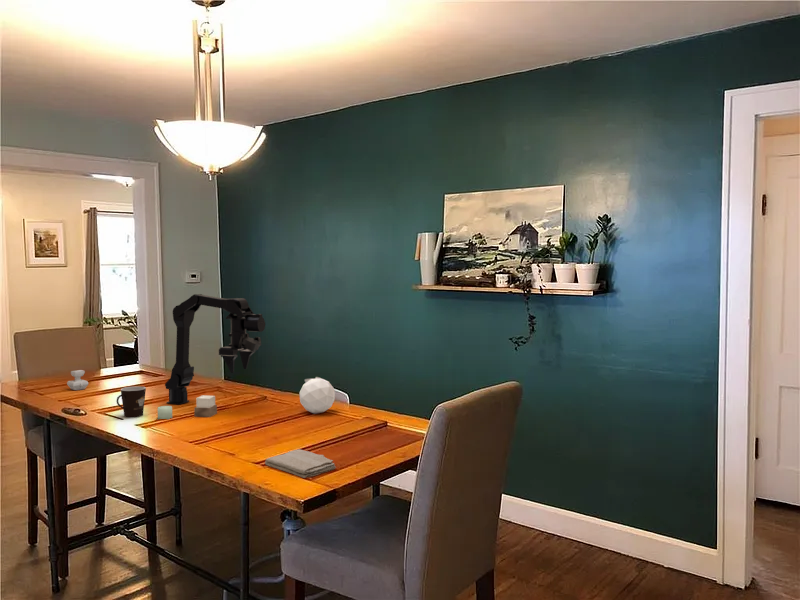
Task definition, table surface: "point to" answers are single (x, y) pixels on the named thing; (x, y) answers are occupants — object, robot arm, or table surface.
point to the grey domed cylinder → (164, 412)
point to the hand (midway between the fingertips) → (238, 370)
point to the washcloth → (301, 463)
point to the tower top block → (205, 401)
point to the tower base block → (205, 411)
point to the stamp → (77, 380)
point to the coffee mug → (132, 401)
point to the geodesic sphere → (317, 395)
